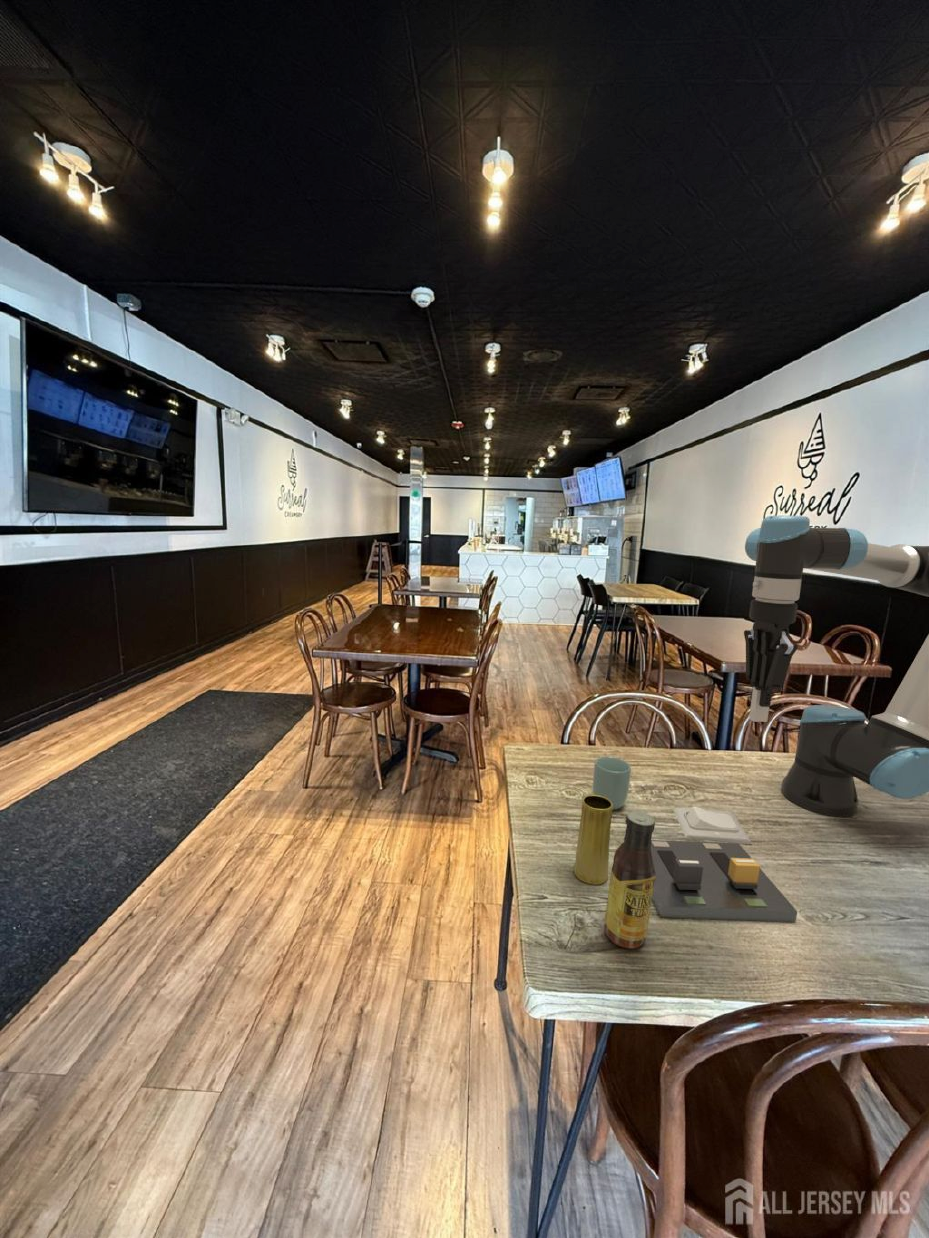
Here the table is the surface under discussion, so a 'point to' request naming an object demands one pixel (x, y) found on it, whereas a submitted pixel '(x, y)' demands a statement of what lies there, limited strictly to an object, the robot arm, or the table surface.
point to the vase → (594, 840)
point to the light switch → (711, 825)
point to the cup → (612, 780)
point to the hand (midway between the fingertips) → (758, 720)
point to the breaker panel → (713, 886)
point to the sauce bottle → (631, 884)
